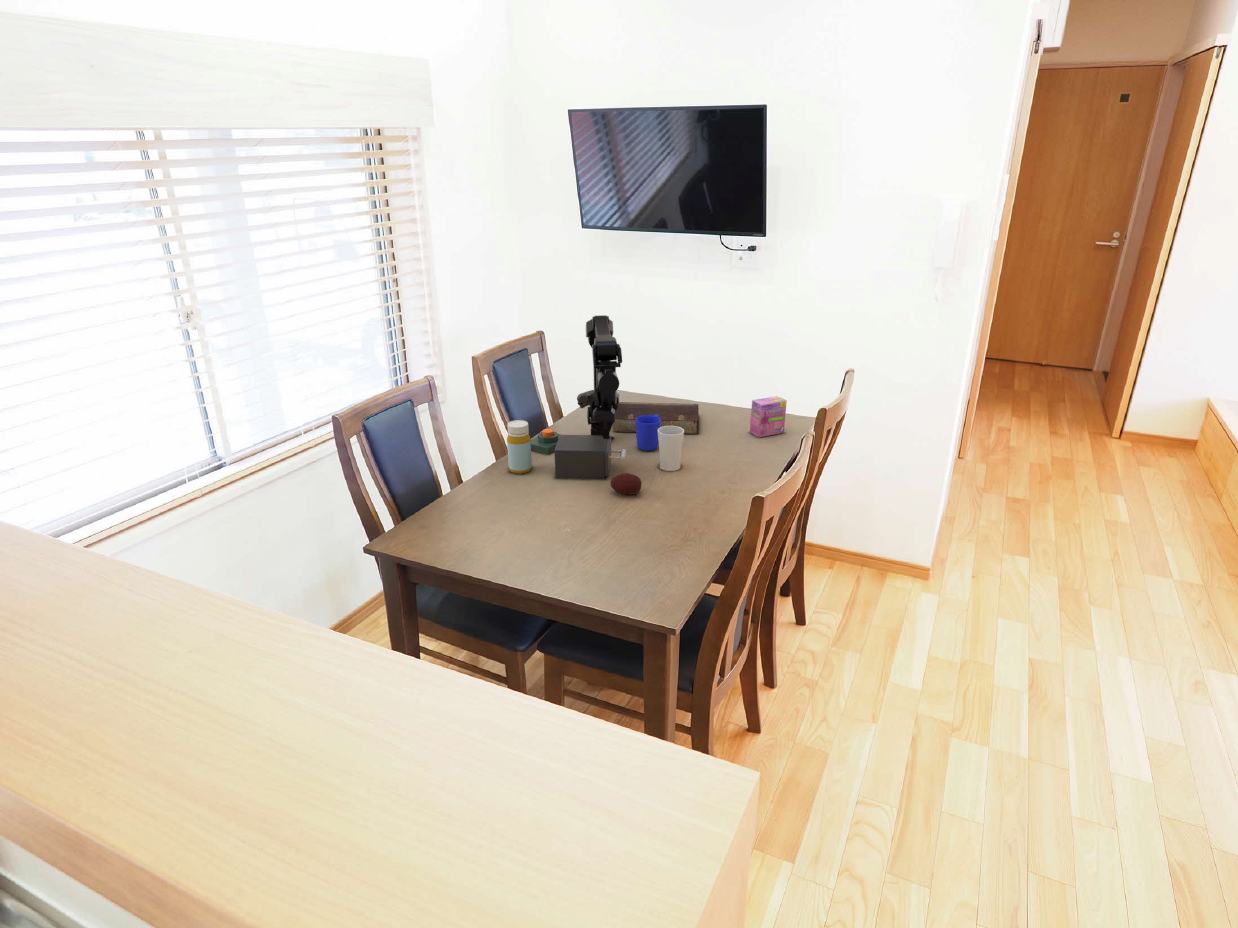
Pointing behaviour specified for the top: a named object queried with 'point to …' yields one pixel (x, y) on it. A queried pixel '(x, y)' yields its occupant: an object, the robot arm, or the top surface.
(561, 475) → the dark grey lidded case
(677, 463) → the cup
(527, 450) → the bottle
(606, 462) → the drawer
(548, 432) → the button
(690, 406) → the book
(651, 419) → the mug
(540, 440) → the control block
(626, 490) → the potato
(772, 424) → the box
